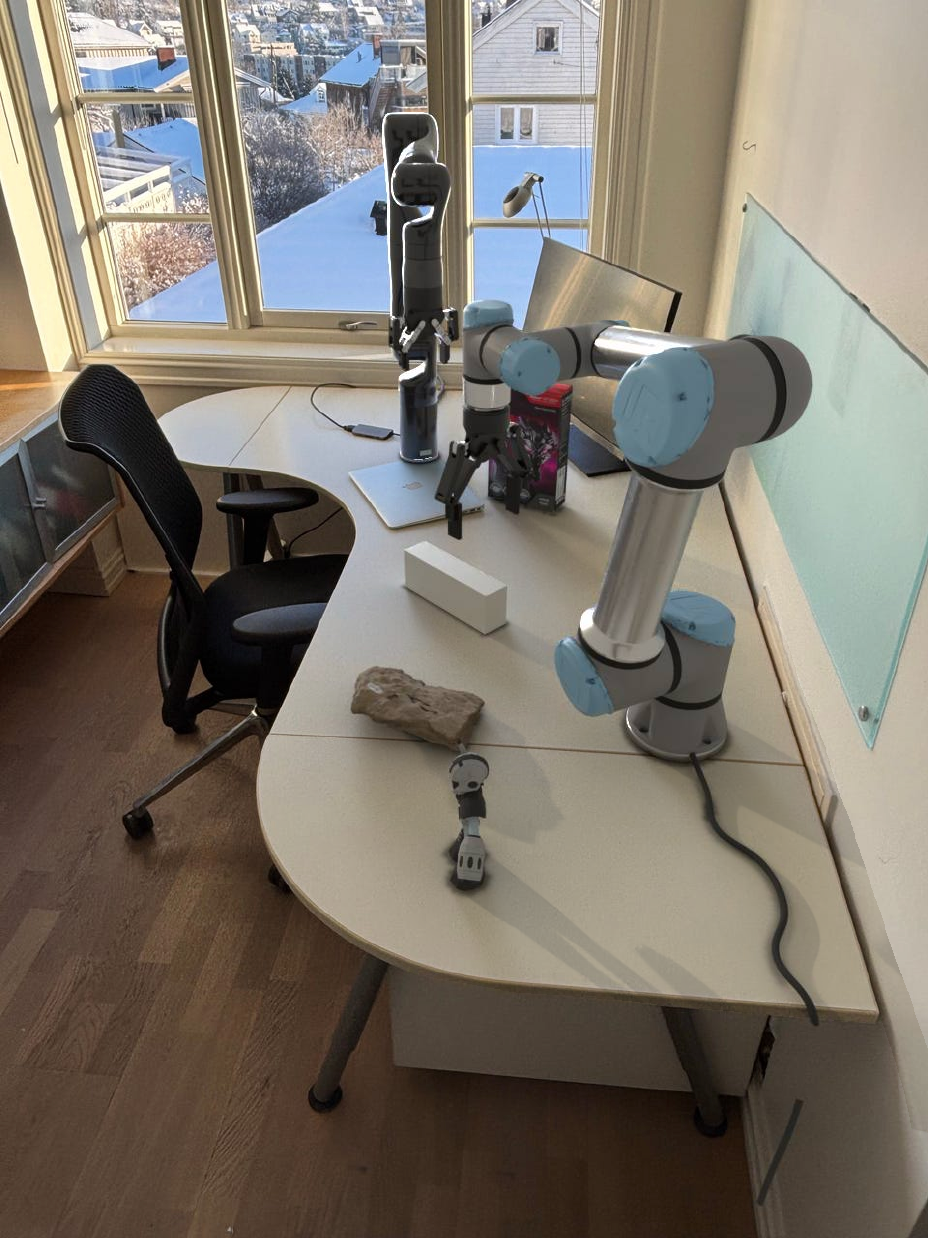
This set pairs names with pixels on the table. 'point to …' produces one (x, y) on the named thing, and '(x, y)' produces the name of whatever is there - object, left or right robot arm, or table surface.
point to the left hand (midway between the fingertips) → (424, 366)
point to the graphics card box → (539, 447)
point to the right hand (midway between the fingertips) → (484, 524)
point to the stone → (416, 706)
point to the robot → (469, 818)
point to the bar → (456, 586)
